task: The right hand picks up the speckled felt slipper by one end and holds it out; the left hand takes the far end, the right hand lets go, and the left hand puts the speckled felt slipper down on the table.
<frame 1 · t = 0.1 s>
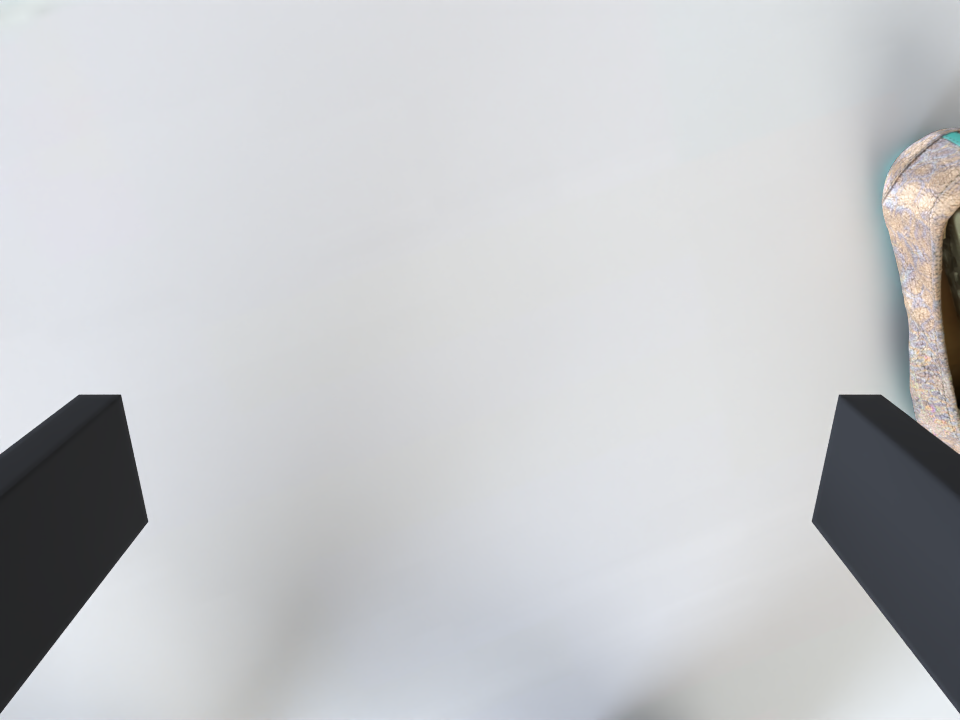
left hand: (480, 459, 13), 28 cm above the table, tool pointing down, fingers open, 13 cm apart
speckled felt slipper: (949, 325, 41), on the table
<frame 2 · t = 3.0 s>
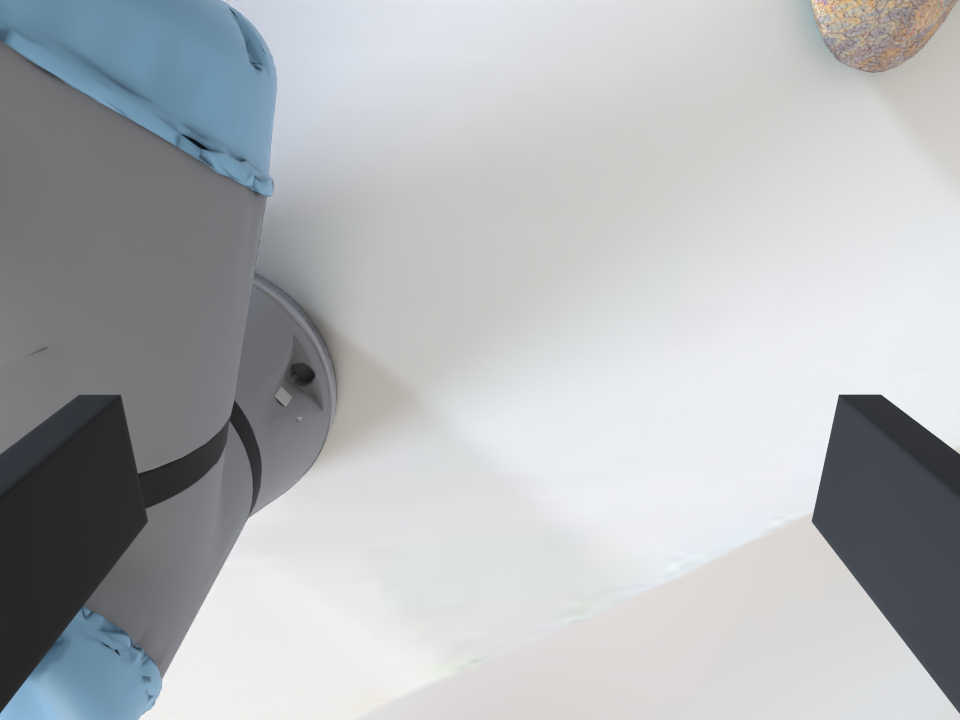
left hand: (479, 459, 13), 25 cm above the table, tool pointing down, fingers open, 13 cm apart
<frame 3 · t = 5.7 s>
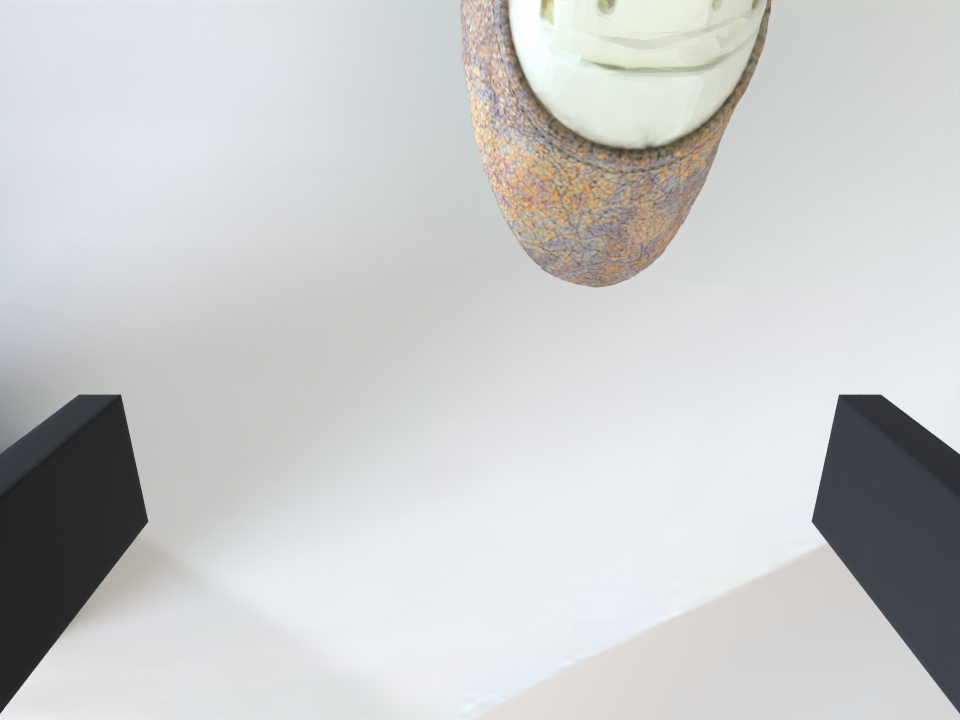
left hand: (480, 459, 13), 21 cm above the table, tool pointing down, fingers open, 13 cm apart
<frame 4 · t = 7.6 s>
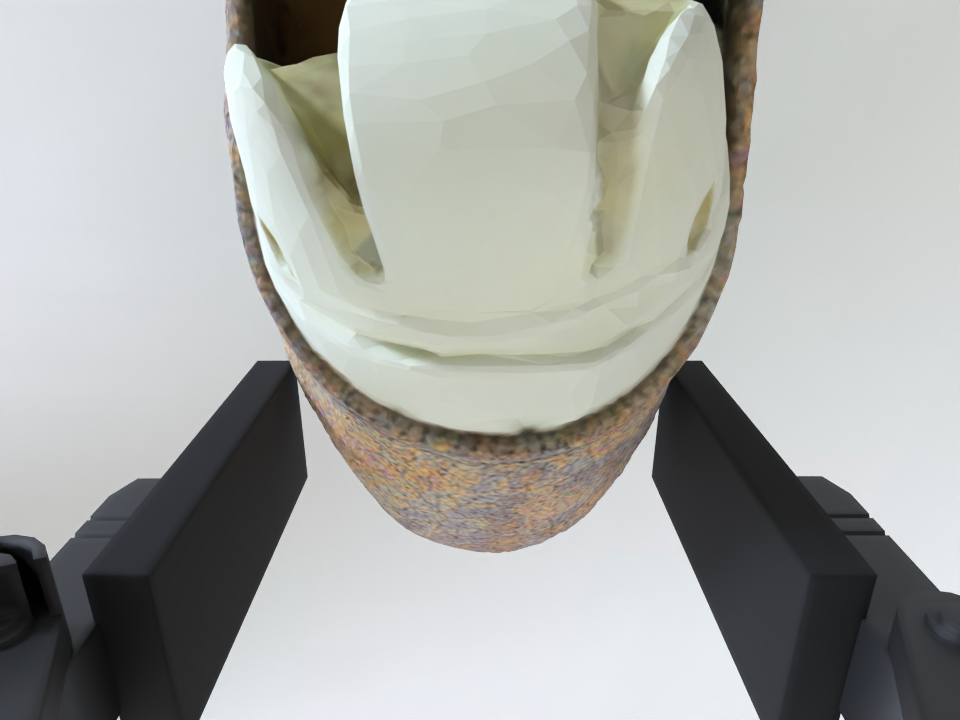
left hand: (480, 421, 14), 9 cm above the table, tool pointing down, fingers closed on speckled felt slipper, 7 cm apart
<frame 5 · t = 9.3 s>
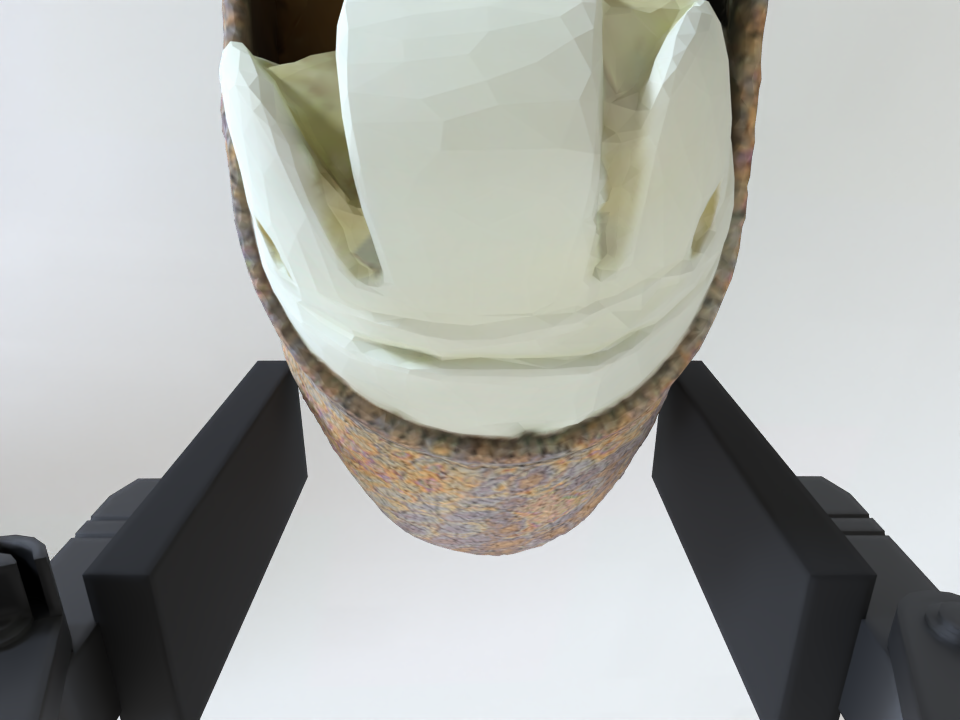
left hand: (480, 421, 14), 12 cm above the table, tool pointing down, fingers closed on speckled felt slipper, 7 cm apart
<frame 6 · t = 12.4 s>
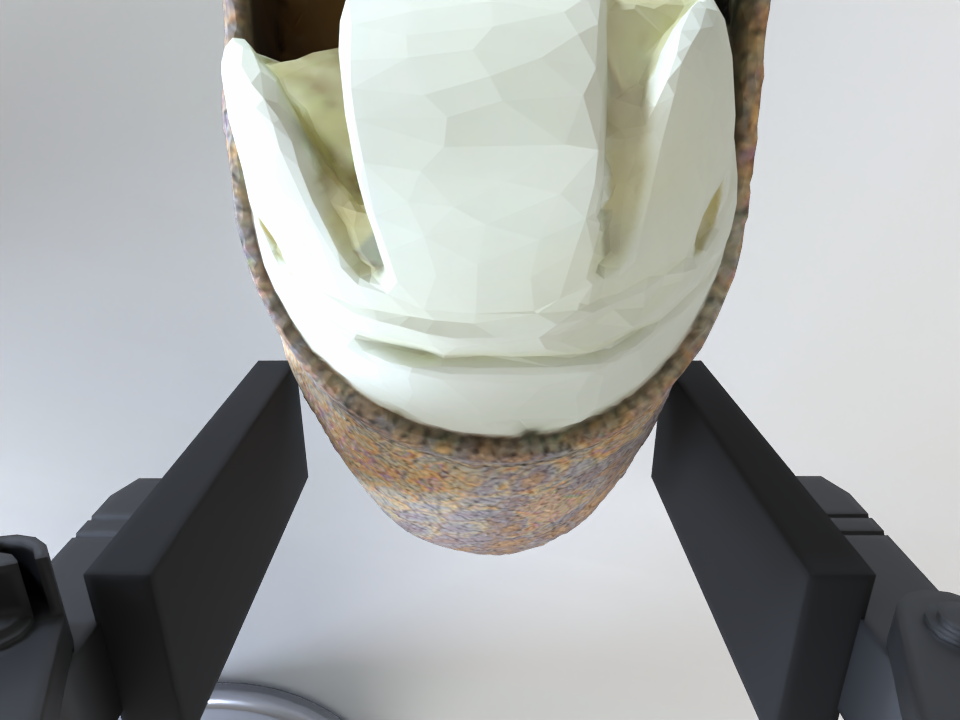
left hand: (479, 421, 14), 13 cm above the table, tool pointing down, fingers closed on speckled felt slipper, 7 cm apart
when the left hand's fingers open (1 cm above the table, at t = 17.2 s): speckled felt slipper stays where it is, on the table.
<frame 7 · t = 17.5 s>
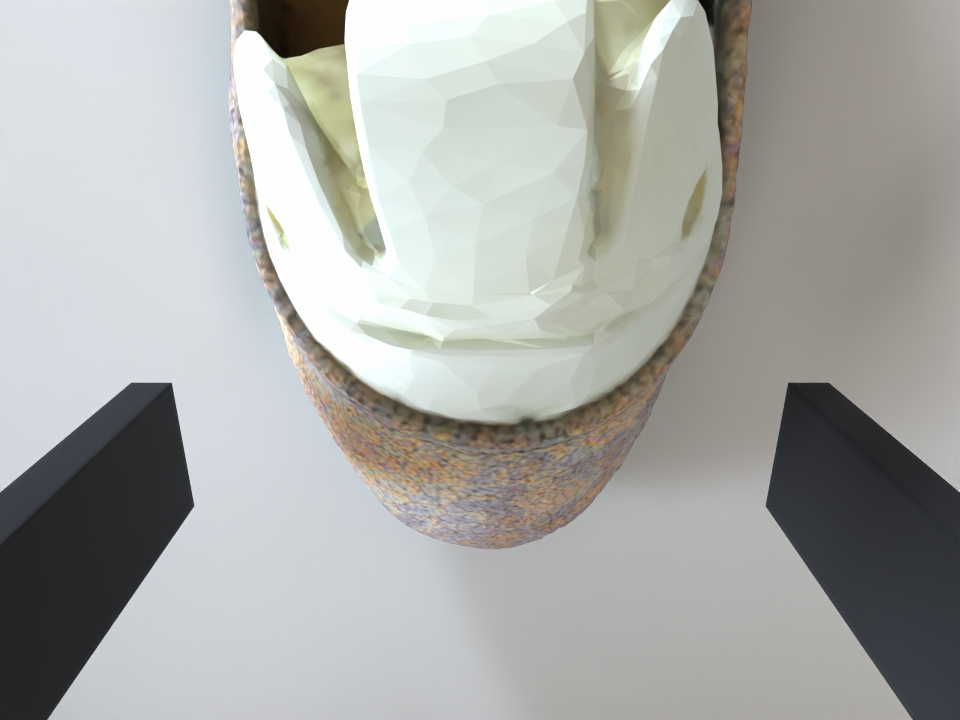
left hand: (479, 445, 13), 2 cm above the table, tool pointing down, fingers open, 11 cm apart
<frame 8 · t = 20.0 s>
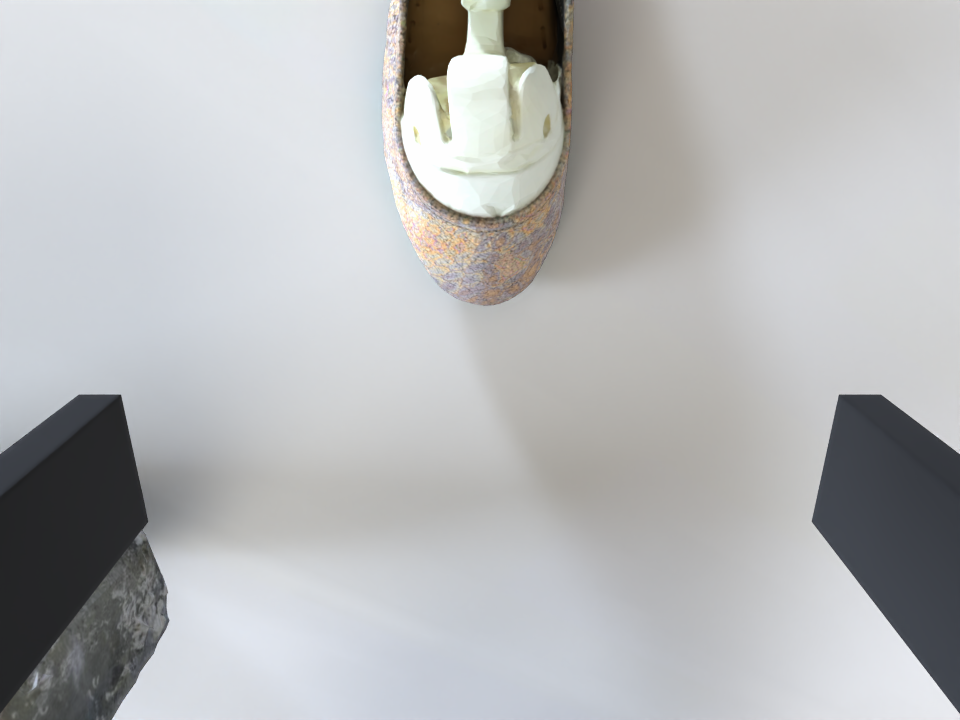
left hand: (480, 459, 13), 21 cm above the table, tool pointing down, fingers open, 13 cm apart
speckled felt slipper: (477, 23, 29), on the table
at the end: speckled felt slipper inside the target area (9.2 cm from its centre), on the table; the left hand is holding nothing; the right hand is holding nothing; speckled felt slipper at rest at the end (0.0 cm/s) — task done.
